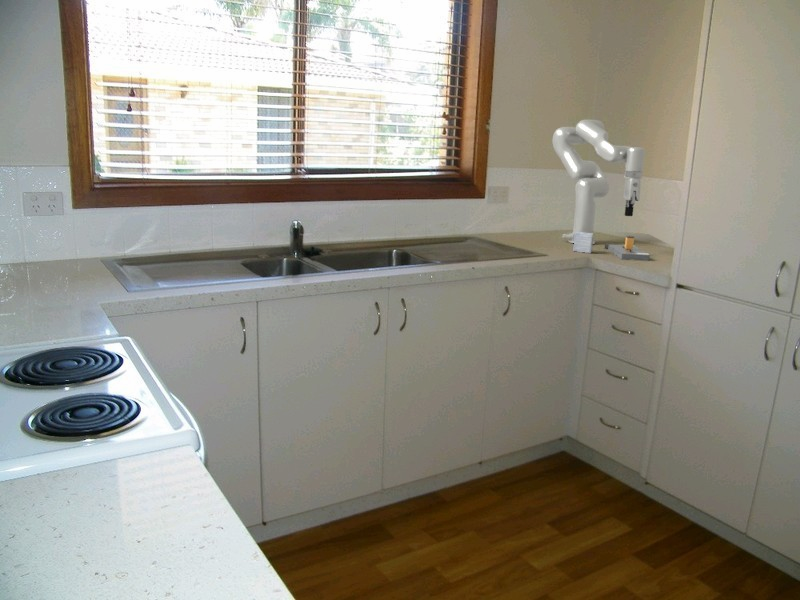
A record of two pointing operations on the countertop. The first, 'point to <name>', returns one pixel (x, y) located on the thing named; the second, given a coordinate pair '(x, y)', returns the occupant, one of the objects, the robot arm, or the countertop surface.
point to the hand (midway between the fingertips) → (628, 215)
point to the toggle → (629, 242)
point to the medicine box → (583, 242)
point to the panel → (625, 254)
